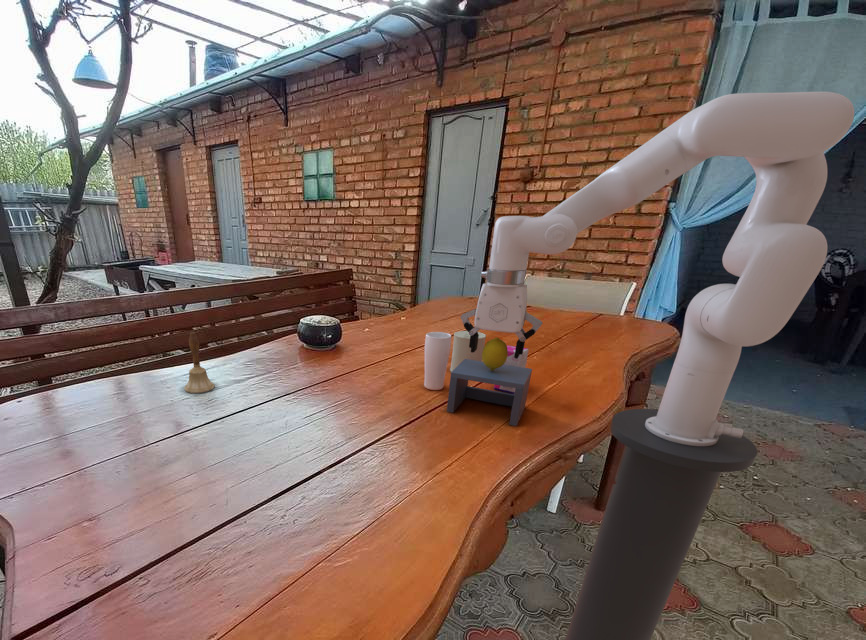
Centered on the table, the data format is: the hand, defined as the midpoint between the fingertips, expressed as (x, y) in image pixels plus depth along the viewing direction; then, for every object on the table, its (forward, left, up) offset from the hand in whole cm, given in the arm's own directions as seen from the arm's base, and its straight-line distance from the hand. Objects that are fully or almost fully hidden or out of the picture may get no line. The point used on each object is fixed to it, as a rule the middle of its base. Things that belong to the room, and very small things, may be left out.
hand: (494, 354), depth 99 cm
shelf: (0, 0, -14) cm, 14 cm away
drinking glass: (+16, -8, -14) cm, 23 cm away
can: (+12, -26, -14) cm, 32 cm away
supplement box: (-2, -17, -14) cm, 22 cm away
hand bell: (+73, +25, -14) cm, 79 cm away
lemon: (0, 0, -4) cm, 4 cm away
